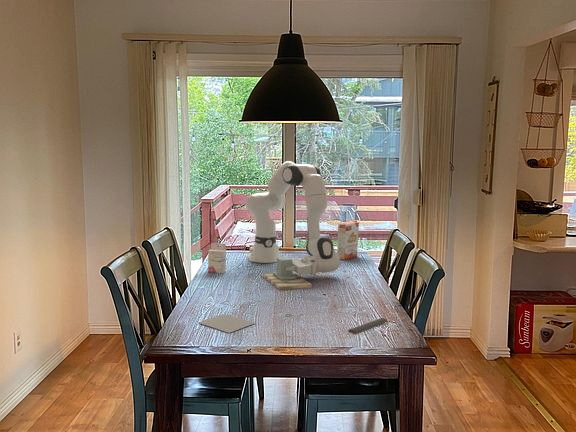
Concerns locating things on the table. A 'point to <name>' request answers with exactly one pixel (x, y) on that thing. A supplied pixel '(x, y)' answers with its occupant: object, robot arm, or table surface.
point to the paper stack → (226, 323)
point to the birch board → (287, 282)
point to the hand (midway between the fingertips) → (282, 266)
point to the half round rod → (368, 326)
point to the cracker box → (347, 240)
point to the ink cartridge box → (217, 258)
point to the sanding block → (281, 271)
